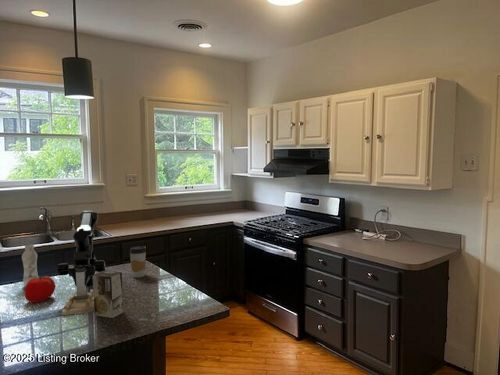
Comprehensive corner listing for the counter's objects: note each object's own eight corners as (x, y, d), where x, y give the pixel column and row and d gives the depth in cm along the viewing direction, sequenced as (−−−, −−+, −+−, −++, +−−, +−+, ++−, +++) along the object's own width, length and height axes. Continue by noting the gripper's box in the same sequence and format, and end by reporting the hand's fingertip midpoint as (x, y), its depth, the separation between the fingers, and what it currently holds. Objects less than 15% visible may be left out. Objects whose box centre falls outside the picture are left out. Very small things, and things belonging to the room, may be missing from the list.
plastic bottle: (41, 284, 178) (40, 244, 177) (27, 288, 172) (25, 247, 171) (35, 282, 181) (33, 243, 180) (20, 286, 176) (18, 245, 174)
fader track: (69, 298, 159) (69, 291, 159) (97, 295, 162) (96, 288, 162) (61, 315, 141) (61, 307, 141) (92, 311, 144) (92, 304, 144)
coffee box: (124, 312, 144) (122, 271, 143) (113, 318, 137) (111, 276, 136) (105, 309, 146) (103, 269, 146) (93, 315, 140) (92, 274, 139)
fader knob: (75, 296, 156) (74, 267, 155) (88, 295, 157) (87, 266, 157) (74, 300, 152) (72, 269, 151) (87, 298, 154) (86, 268, 153)
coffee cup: (149, 273, 194) (148, 246, 194) (143, 278, 186) (142, 249, 185) (134, 273, 195) (133, 245, 194) (127, 278, 187) (126, 249, 186)
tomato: (17, 303, 154) (16, 280, 153) (43, 293, 165) (42, 271, 165) (37, 307, 150) (35, 282, 149) (62, 296, 162) (61, 274, 161)
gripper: (56, 245, 154) (52, 278, 144) (103, 242, 160) (102, 273, 150) (60, 259, 162) (57, 291, 152) (105, 255, 168) (104, 286, 158)
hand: (80, 285), depth 153 cm, fingers closed on fader knob, 3 cm apart
